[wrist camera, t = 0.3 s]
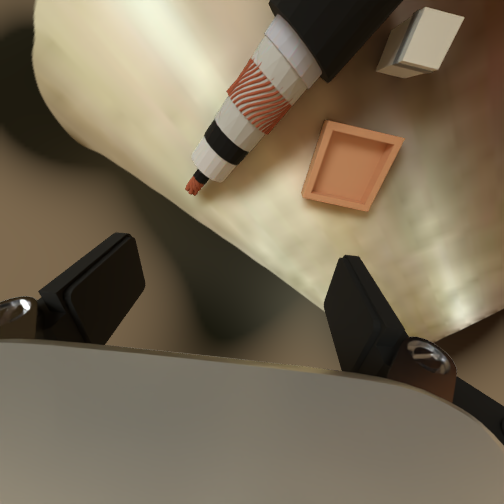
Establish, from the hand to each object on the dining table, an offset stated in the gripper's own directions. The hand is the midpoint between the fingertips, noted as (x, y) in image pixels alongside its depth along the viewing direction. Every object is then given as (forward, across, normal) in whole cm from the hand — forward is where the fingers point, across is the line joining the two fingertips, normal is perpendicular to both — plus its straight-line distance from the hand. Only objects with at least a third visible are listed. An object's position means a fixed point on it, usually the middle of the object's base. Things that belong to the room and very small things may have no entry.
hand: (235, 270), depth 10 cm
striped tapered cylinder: (+30, 0, -8) cm, 31 cm away
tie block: (+30, -16, -14) cm, 37 cm away
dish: (+30, -14, 0) cm, 33 cm away
